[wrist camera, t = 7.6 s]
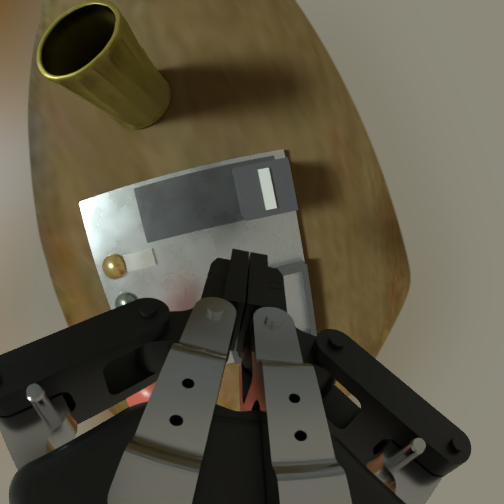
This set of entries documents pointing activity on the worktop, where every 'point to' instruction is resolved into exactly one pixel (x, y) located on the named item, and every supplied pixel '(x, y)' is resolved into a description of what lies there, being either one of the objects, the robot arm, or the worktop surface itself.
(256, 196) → the breaker
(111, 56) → the vase
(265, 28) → the worktop surface
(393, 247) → the worktop surface
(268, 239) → the panel
